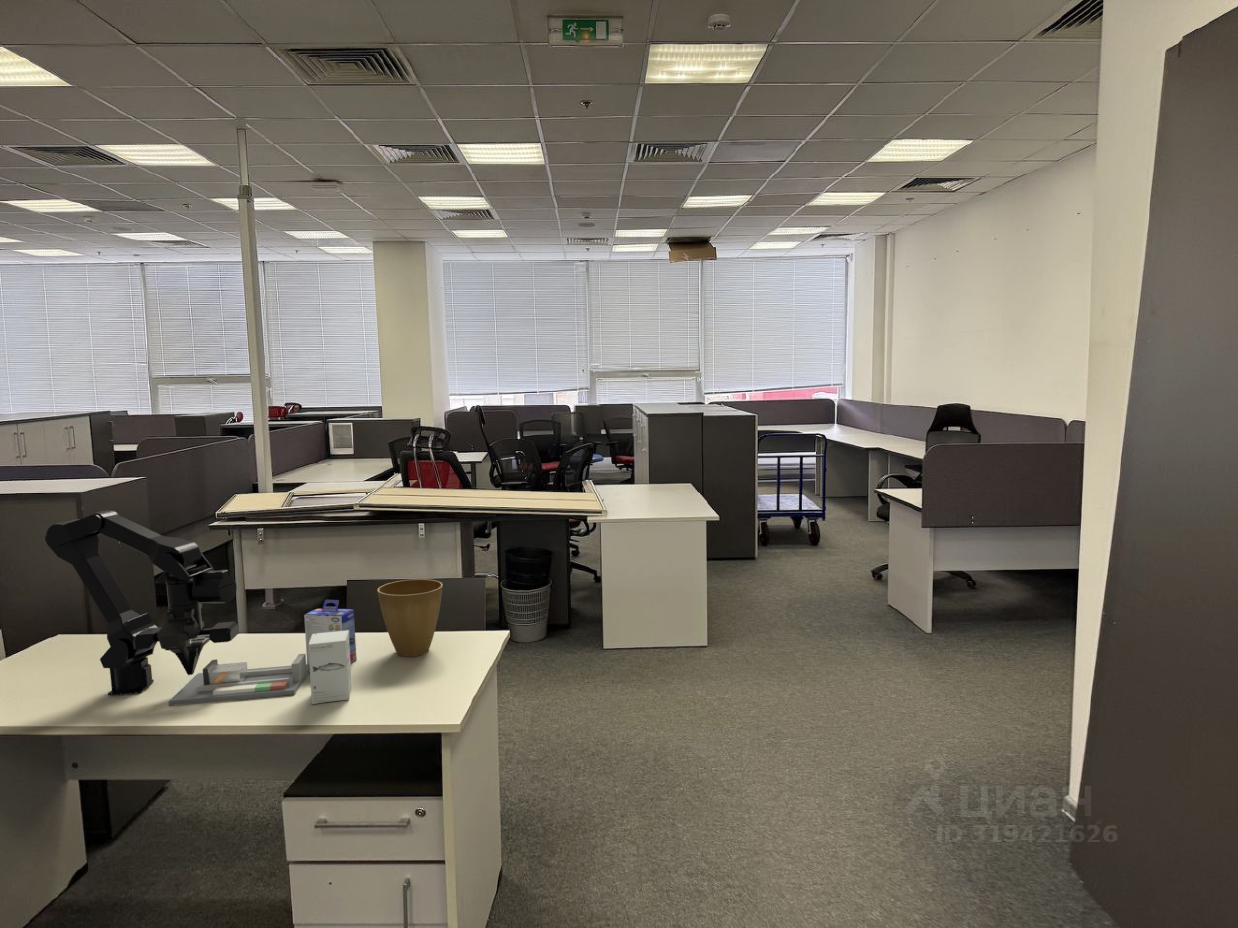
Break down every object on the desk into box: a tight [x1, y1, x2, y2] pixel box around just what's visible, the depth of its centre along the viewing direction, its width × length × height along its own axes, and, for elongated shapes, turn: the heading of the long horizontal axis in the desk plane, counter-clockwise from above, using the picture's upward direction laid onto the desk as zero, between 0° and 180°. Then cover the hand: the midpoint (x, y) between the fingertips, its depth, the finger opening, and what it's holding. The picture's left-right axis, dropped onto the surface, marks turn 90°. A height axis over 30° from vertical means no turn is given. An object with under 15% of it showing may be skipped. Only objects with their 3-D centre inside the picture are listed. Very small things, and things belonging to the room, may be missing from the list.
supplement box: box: [309, 630, 352, 705], centre depth 153 cm, size 7×7×13 cm
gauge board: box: [168, 653, 310, 707], centre depth 160 cm, size 24×15×5 cm, turn 100°
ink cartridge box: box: [303, 599, 357, 664], centre depth 172 cm, size 10×6×14 cm, turn 78°
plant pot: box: [377, 578, 444, 658], centre depth 177 cm, size 15×15×16 cm
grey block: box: [202, 659, 249, 685], centre depth 157 cm, size 7×10×4 cm
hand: (190, 674), depth 158 cm, fingers closed
